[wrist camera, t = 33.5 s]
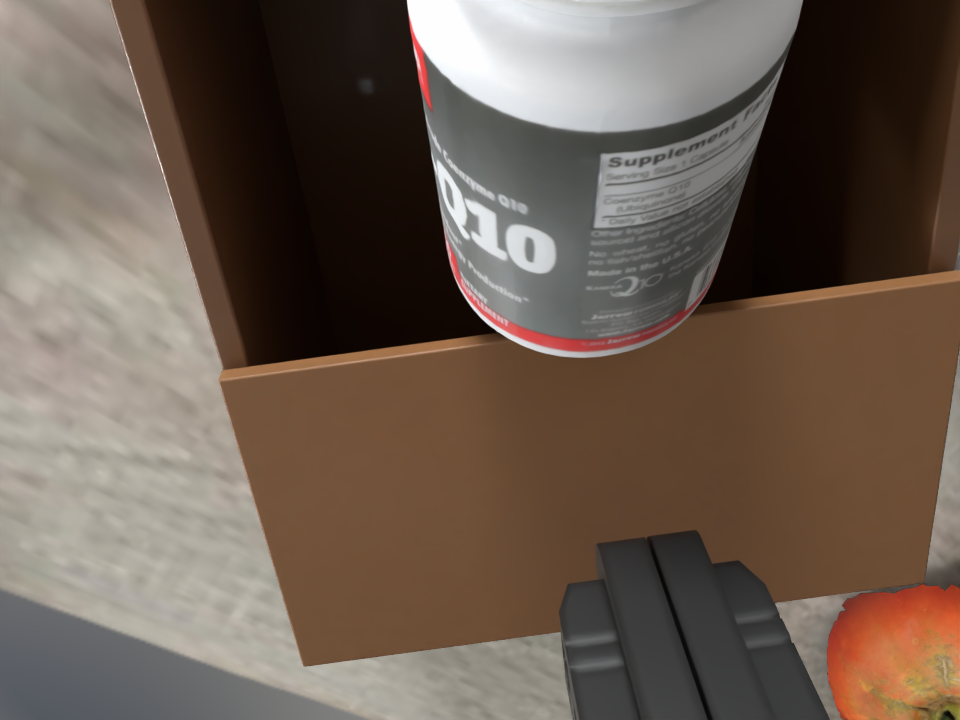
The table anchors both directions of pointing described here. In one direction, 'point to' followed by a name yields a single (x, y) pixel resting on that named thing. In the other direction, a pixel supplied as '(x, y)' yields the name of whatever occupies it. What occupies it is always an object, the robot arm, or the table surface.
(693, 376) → the flap
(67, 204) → the table surface
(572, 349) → the pill bottle
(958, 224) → the carton
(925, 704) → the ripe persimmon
